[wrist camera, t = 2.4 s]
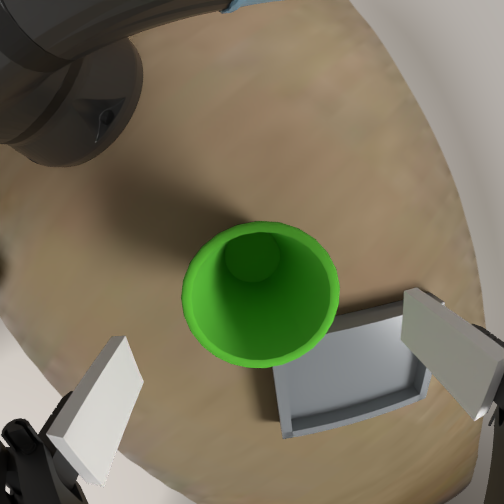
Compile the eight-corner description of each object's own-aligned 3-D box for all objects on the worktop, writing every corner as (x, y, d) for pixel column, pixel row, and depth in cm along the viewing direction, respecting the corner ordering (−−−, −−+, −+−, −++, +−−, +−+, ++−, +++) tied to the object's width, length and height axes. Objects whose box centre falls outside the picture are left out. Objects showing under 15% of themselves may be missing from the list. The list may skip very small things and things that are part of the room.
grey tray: (266, 328, 28) (269, 344, 26) (430, 292, 29) (444, 302, 26) (279, 422, 32) (282, 439, 29) (415, 385, 32) (425, 397, 29)
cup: (252, 183, 25) (264, 184, 14) (320, 254, 27) (369, 299, 16) (182, 254, 26) (149, 303, 16) (251, 317, 28) (260, 391, 17)
